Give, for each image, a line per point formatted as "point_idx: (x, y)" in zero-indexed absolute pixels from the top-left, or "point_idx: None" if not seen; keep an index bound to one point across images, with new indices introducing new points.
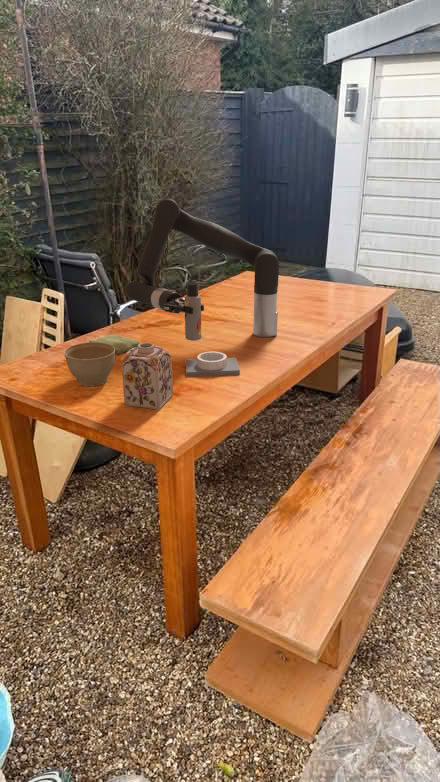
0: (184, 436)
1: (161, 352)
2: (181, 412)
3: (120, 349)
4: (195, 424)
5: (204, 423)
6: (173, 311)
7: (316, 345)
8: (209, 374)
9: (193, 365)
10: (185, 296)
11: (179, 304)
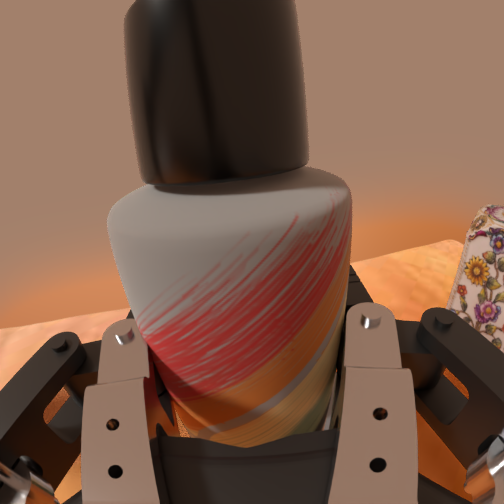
0: (440, 244)
1: (487, 206)
2: (435, 278)
3: None
4: (422, 254)
5: (410, 252)
6: (462, 394)
7: (10, 329)
8: None
9: (327, 424)
10: (328, 191)
11: (400, 368)
